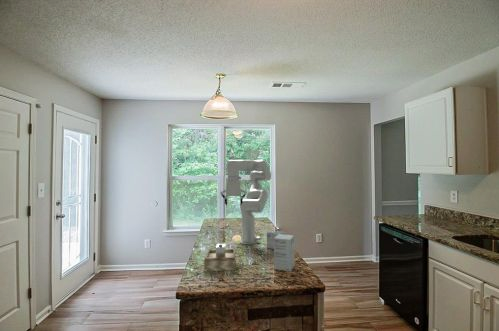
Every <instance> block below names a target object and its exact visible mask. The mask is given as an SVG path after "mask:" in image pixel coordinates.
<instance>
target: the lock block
mask: <svg viewBox="0 0 499 331" xmlns="http://www.w3.org/2000/svg"><path fill="white" fill-rule="evenodd" d="M226 246H227V245H226V243H216V246H215V250H216V258H225V255H226V249H227V248H226Z"/></svg>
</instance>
